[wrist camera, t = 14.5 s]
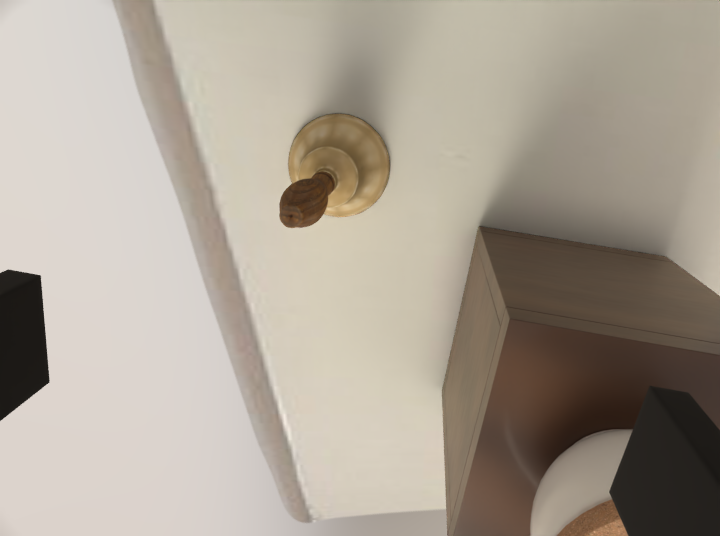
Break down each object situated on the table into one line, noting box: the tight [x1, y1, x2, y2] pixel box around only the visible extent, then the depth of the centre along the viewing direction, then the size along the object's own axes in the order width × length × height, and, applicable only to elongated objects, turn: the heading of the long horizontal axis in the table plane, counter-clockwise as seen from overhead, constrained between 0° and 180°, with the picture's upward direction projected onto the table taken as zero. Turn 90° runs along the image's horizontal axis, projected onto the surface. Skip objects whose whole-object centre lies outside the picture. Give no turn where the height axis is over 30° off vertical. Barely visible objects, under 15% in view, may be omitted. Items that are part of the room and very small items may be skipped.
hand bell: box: [279, 114, 390, 228], centre depth 35 cm, size 8×8×16 cm
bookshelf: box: [442, 226, 720, 536], centre depth 37 cm, size 16×15×18 cm
